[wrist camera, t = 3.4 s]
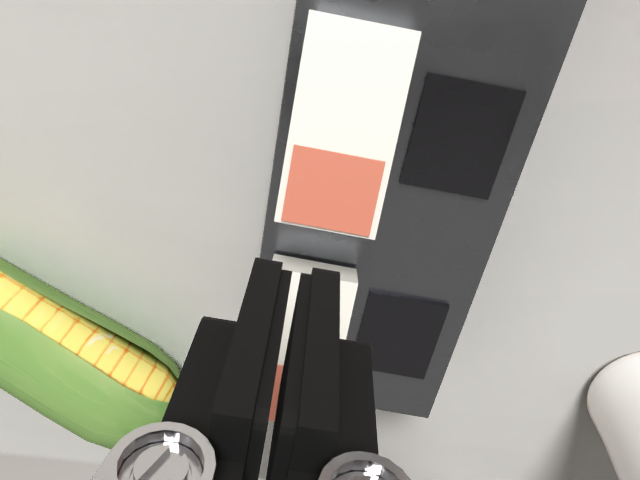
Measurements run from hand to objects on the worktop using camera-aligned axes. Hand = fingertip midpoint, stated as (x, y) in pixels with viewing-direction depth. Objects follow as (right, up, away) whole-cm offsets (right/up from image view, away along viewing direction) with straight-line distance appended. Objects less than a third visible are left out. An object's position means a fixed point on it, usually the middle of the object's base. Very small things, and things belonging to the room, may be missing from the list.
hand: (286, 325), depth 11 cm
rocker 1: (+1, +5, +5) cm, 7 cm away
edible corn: (-14, 0, +15) cm, 21 cm away
